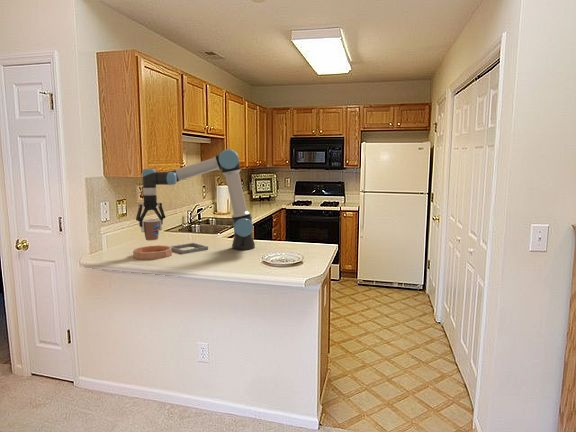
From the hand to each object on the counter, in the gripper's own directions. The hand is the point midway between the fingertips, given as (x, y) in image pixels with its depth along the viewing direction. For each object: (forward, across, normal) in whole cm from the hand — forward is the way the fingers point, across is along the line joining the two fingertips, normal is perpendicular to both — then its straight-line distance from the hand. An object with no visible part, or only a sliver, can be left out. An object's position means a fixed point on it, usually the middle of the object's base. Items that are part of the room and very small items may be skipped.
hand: (151, 231), depth 241 cm
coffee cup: (+5, 0, 0) cm, 5 cm away
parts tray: (+15, -24, 0) cm, 28 cm away
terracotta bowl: (+15, 0, 0) cm, 15 cm away
